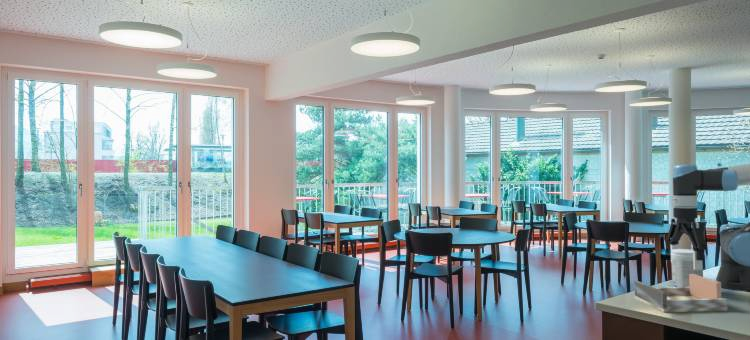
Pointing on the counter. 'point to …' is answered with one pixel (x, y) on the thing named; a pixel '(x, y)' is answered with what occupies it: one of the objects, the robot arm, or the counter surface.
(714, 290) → the plate
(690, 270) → the supplement tub
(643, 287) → the grey tray
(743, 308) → the counter surface
